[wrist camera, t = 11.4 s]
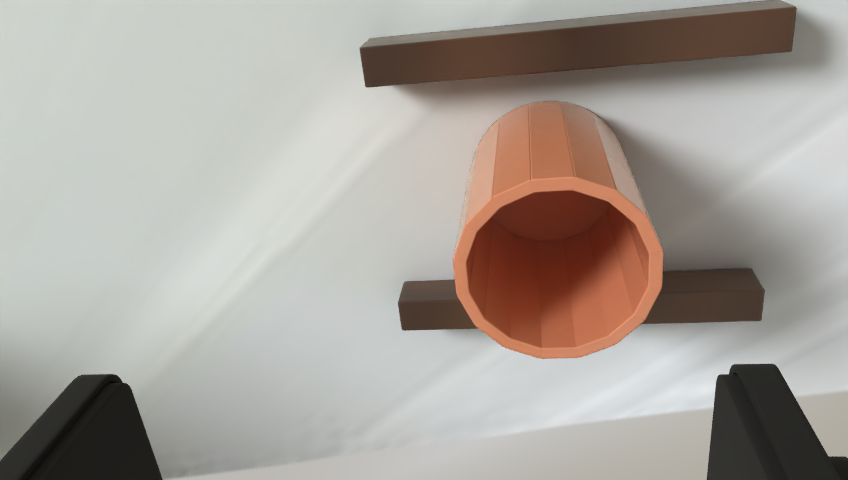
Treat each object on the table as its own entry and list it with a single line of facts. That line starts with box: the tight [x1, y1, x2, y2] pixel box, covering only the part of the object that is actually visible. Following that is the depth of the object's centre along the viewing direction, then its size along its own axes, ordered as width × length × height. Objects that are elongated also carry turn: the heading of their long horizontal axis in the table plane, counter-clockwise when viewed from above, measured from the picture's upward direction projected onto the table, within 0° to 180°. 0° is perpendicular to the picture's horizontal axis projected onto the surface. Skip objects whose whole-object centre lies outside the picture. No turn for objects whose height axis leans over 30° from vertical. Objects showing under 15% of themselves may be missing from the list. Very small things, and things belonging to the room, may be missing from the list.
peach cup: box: [453, 101, 664, 359], centre depth 27 cm, size 7×7×9 cm
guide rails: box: [360, 0, 797, 330], centre depth 30 cm, size 16×13×2 cm
